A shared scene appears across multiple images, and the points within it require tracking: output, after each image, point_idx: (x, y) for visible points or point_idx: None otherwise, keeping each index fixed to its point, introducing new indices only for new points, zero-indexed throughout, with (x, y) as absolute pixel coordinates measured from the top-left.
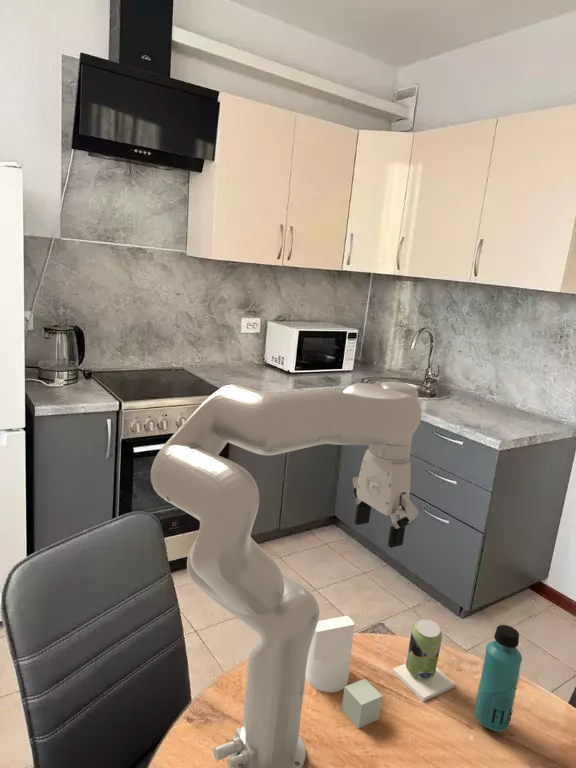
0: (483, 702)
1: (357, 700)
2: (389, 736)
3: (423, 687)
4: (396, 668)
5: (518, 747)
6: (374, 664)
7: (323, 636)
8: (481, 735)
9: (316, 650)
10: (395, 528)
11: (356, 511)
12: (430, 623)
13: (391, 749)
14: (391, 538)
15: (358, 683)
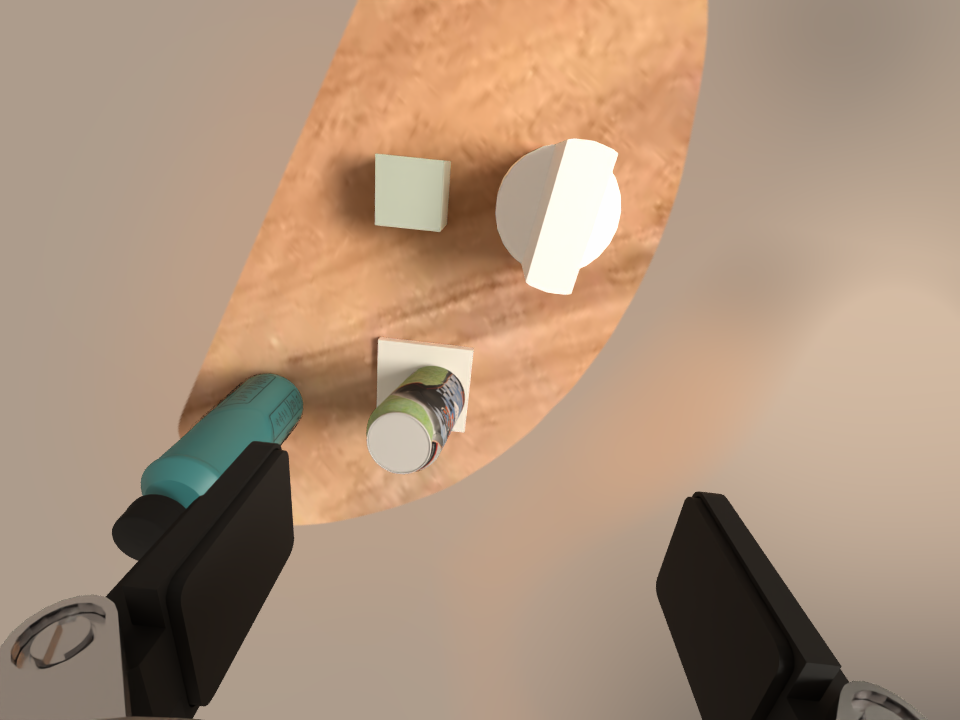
0: (251, 394)
1: (391, 155)
2: (343, 201)
3: (399, 362)
4: (469, 357)
5: (224, 391)
6: (512, 332)
7: (556, 168)
8: (269, 360)
9: (557, 148)
10: (92, 596)
11: (784, 590)
12: (405, 461)
13: (315, 177)
14: (209, 492)
15: (434, 203)
